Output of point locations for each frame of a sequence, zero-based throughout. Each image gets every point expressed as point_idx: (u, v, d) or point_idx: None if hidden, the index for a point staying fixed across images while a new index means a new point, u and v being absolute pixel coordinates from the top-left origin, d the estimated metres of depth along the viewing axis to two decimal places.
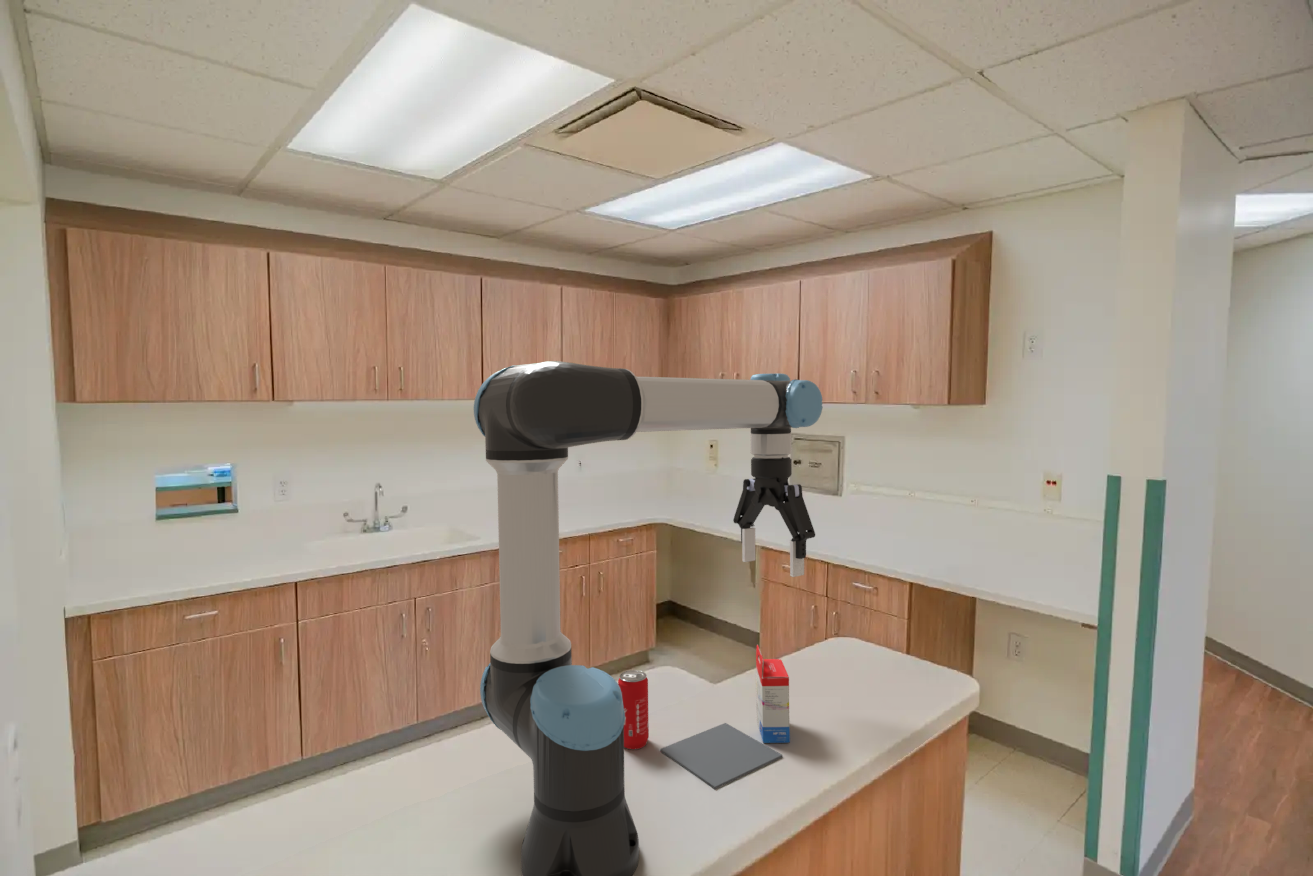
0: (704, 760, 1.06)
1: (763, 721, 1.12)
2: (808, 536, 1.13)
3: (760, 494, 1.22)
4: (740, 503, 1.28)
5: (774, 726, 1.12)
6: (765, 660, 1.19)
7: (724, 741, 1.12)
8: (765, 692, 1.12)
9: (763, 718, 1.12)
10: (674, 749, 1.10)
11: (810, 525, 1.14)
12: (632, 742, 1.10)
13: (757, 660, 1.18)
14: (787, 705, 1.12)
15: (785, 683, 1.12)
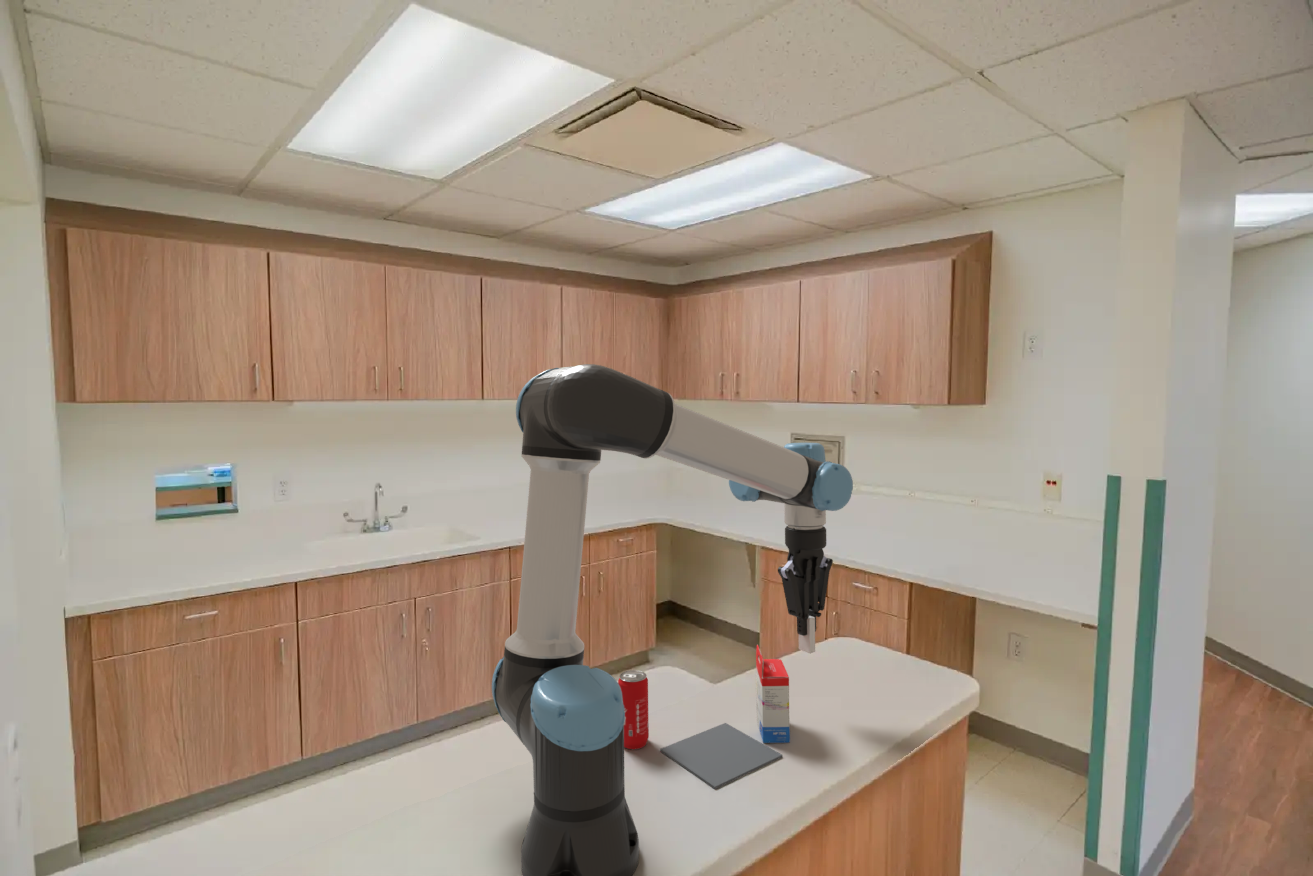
0: (704, 760, 1.06)
1: (763, 721, 1.12)
2: (791, 613, 1.19)
3: None
4: None
5: (774, 726, 1.12)
6: (765, 660, 1.19)
7: (724, 741, 1.12)
8: (765, 692, 1.12)
9: (763, 718, 1.12)
10: (674, 749, 1.10)
11: (794, 608, 1.18)
12: (632, 742, 1.10)
13: (757, 660, 1.18)
14: (787, 705, 1.12)
15: (785, 683, 1.12)
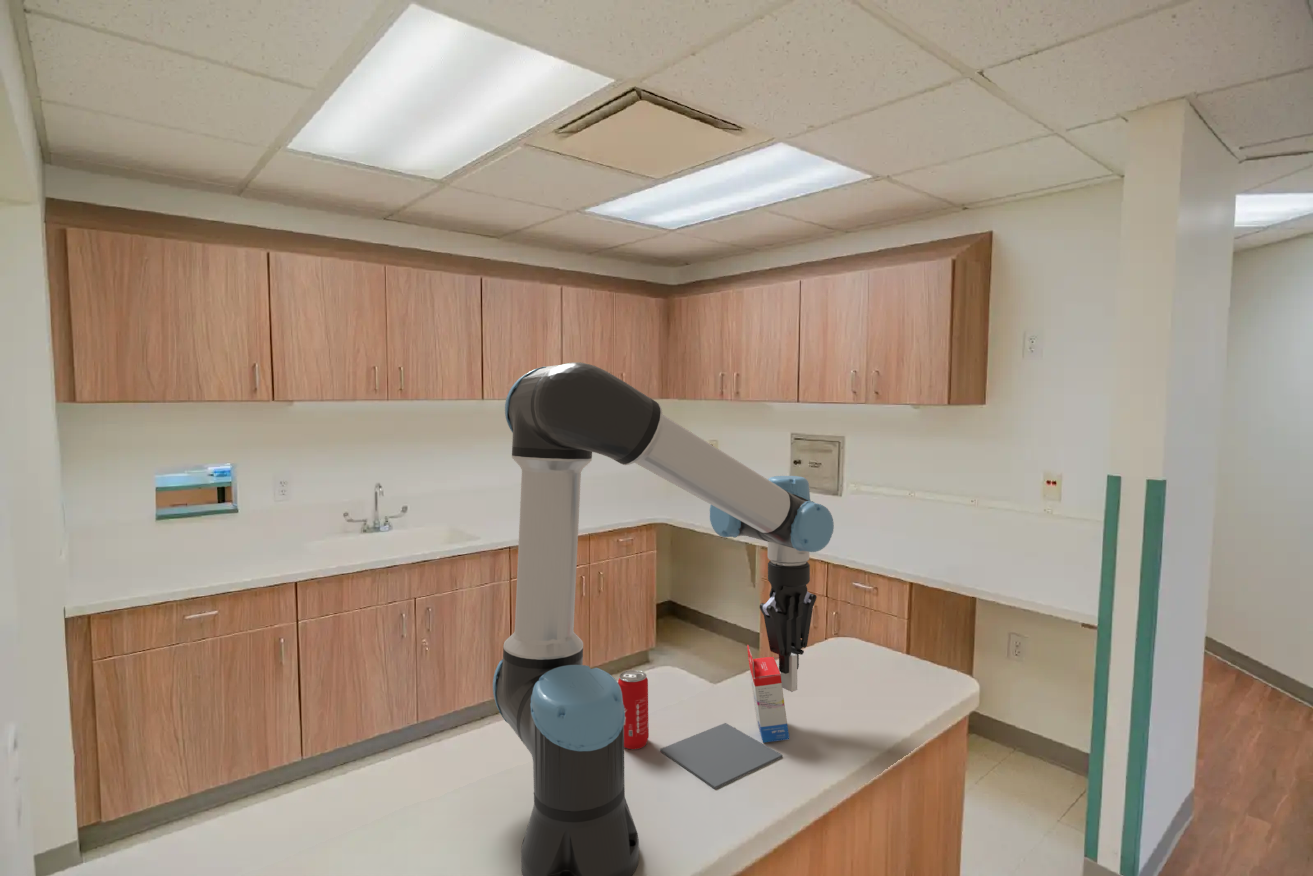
0: (704, 760, 1.06)
1: (760, 721, 1.12)
2: (773, 651, 1.17)
3: None
4: None
5: (771, 725, 1.12)
6: (757, 659, 1.19)
7: (724, 741, 1.12)
8: (758, 692, 1.12)
9: (760, 718, 1.12)
10: (674, 749, 1.10)
11: (776, 645, 1.15)
12: (632, 742, 1.10)
13: (749, 660, 1.18)
14: (782, 702, 1.12)
15: (777, 680, 1.12)
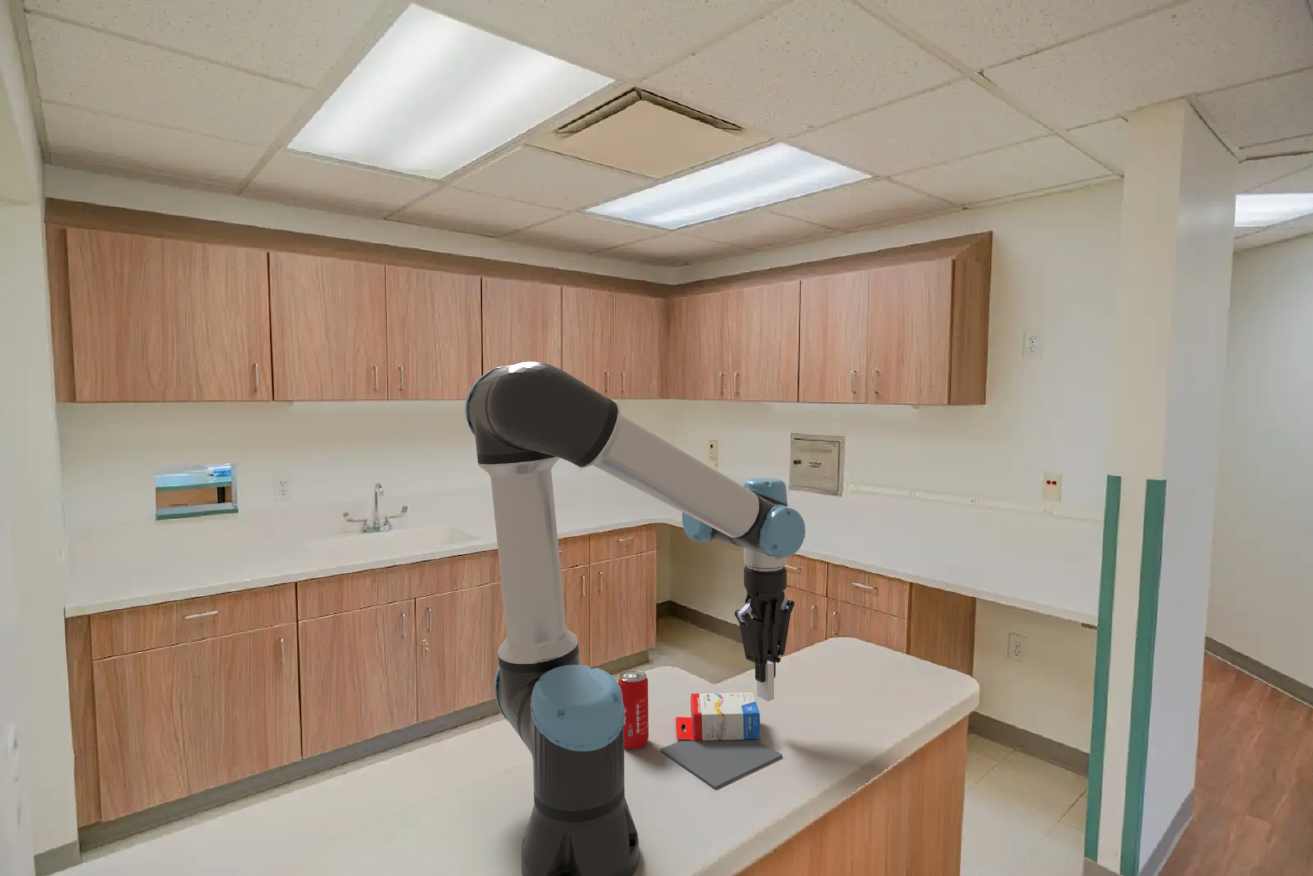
0: (704, 760, 1.06)
1: (738, 738, 1.13)
2: (749, 659, 1.13)
3: None
4: None
5: (742, 729, 1.12)
6: None
7: (724, 741, 1.12)
8: (708, 738, 1.13)
9: (735, 739, 1.13)
10: (674, 749, 1.10)
11: (752, 653, 1.12)
12: (632, 742, 1.10)
13: None
14: (721, 716, 1.12)
15: (699, 718, 1.12)
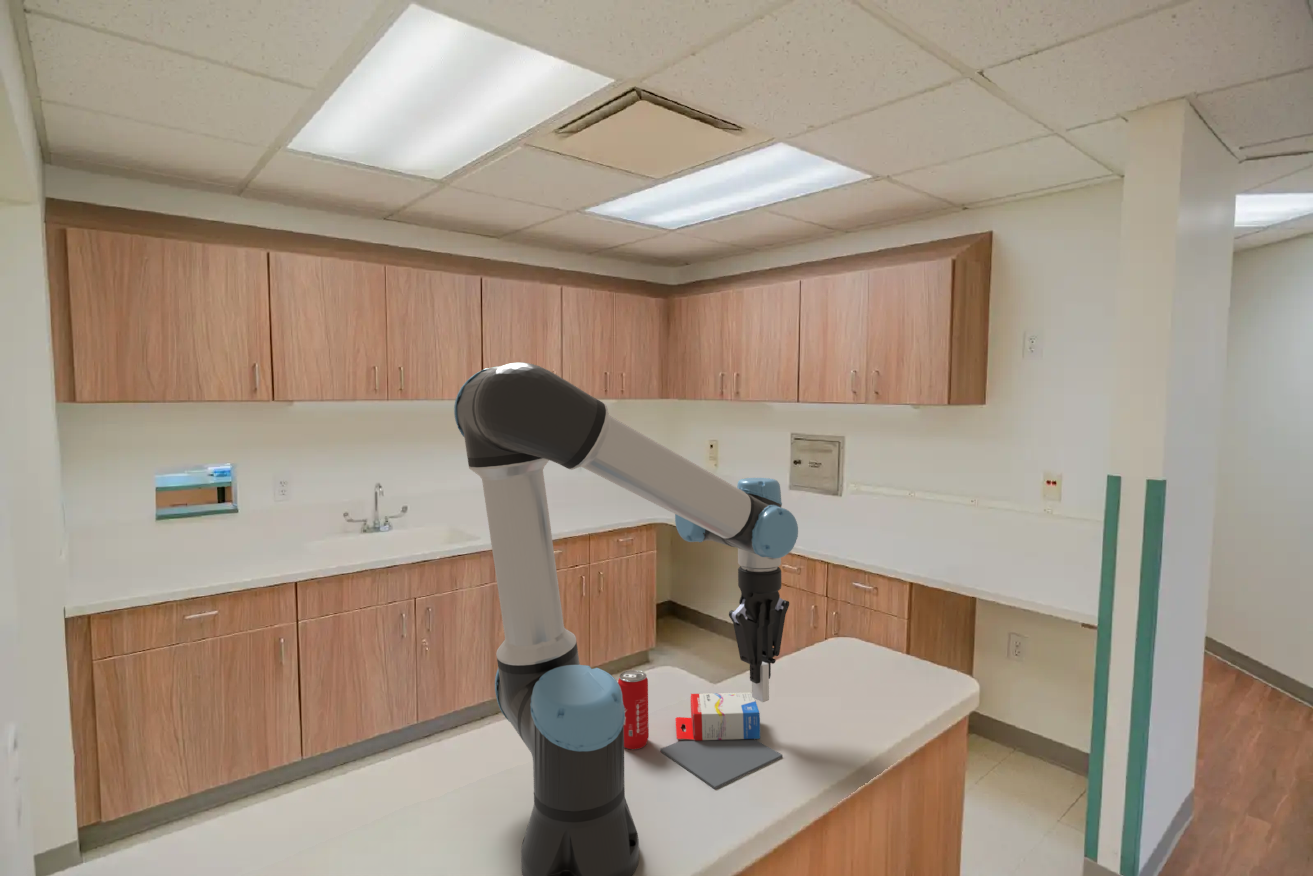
0: (704, 760, 1.06)
1: (738, 738, 1.13)
2: (743, 660, 1.12)
3: None
4: None
5: (742, 728, 1.12)
6: None
7: (724, 741, 1.12)
8: (708, 737, 1.13)
9: (735, 738, 1.13)
10: (674, 749, 1.10)
11: (746, 654, 1.11)
12: (632, 742, 1.10)
13: None
14: (721, 715, 1.12)
15: (699, 717, 1.12)
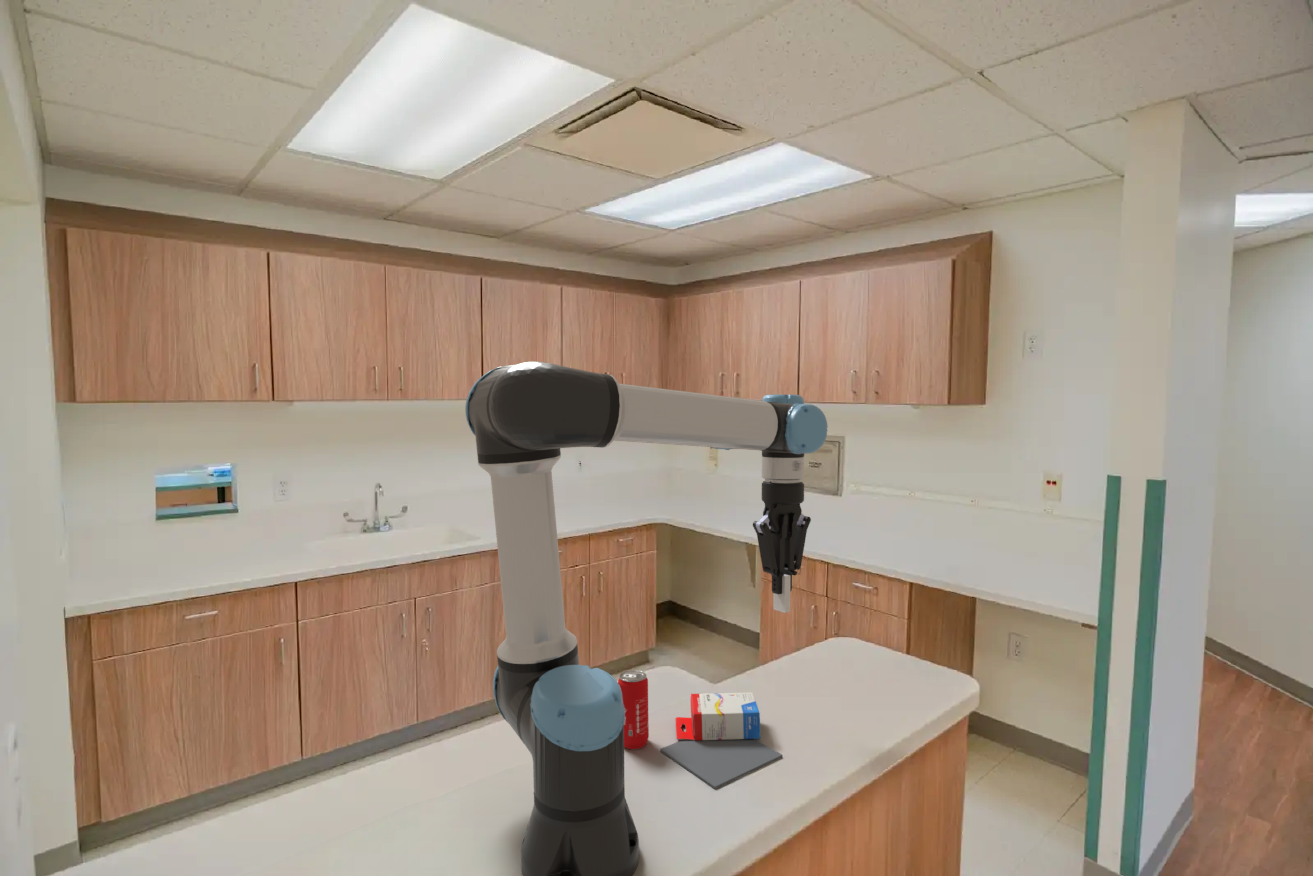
0: (704, 760, 1.06)
1: (738, 738, 1.13)
2: (766, 570, 1.15)
3: None
4: None
5: (742, 728, 1.12)
6: None
7: (724, 741, 1.12)
8: (708, 737, 1.13)
9: (735, 738, 1.13)
10: (674, 749, 1.10)
11: (769, 564, 1.14)
12: (632, 742, 1.10)
13: None
14: (721, 715, 1.12)
15: (699, 717, 1.12)
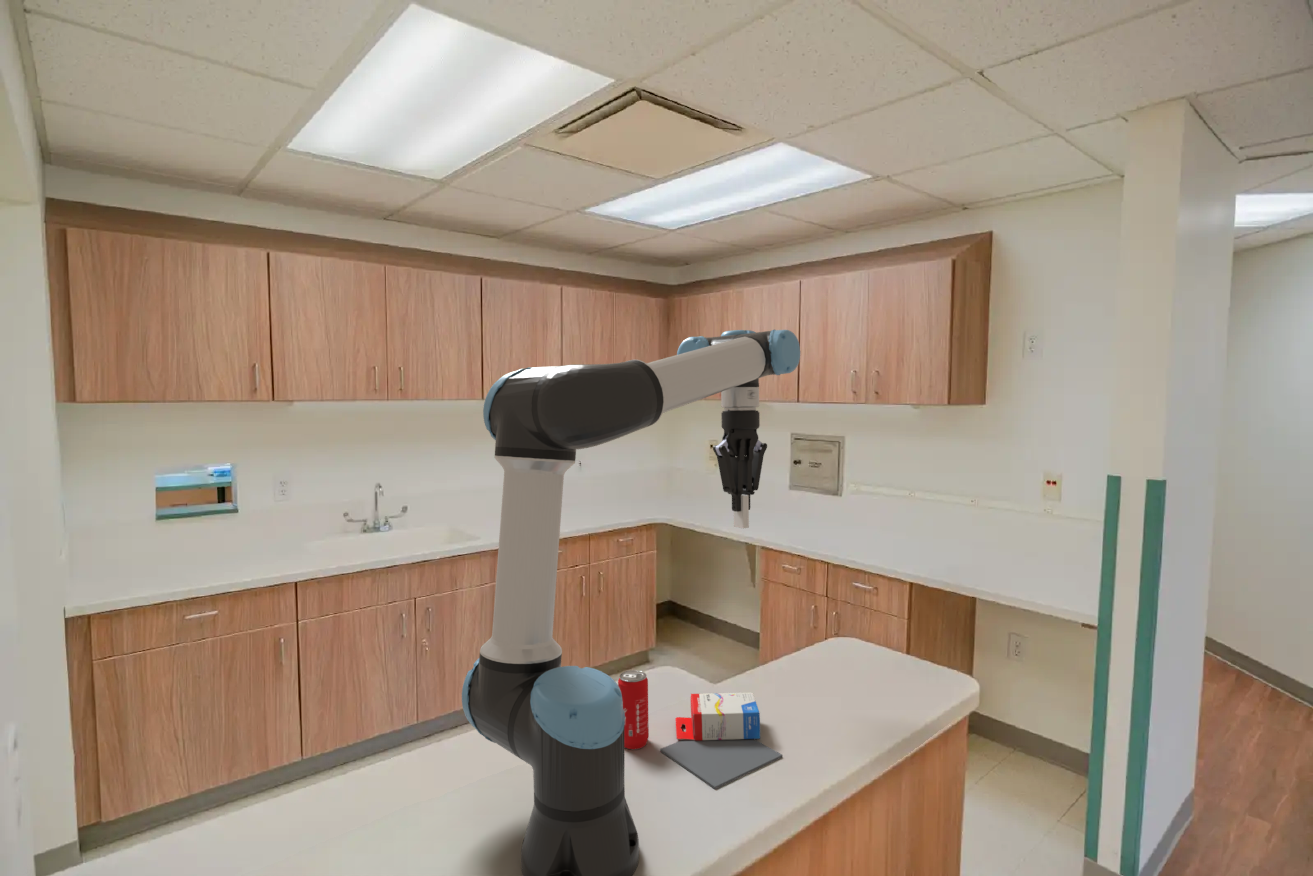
0: (704, 760, 1.06)
1: (738, 738, 1.13)
2: (726, 490, 1.27)
3: None
4: None
5: (742, 728, 1.12)
6: None
7: (724, 741, 1.12)
8: (708, 737, 1.13)
9: (735, 738, 1.13)
10: (674, 749, 1.10)
11: (728, 483, 1.26)
12: (632, 742, 1.10)
13: None
14: (721, 715, 1.12)
15: (699, 717, 1.12)
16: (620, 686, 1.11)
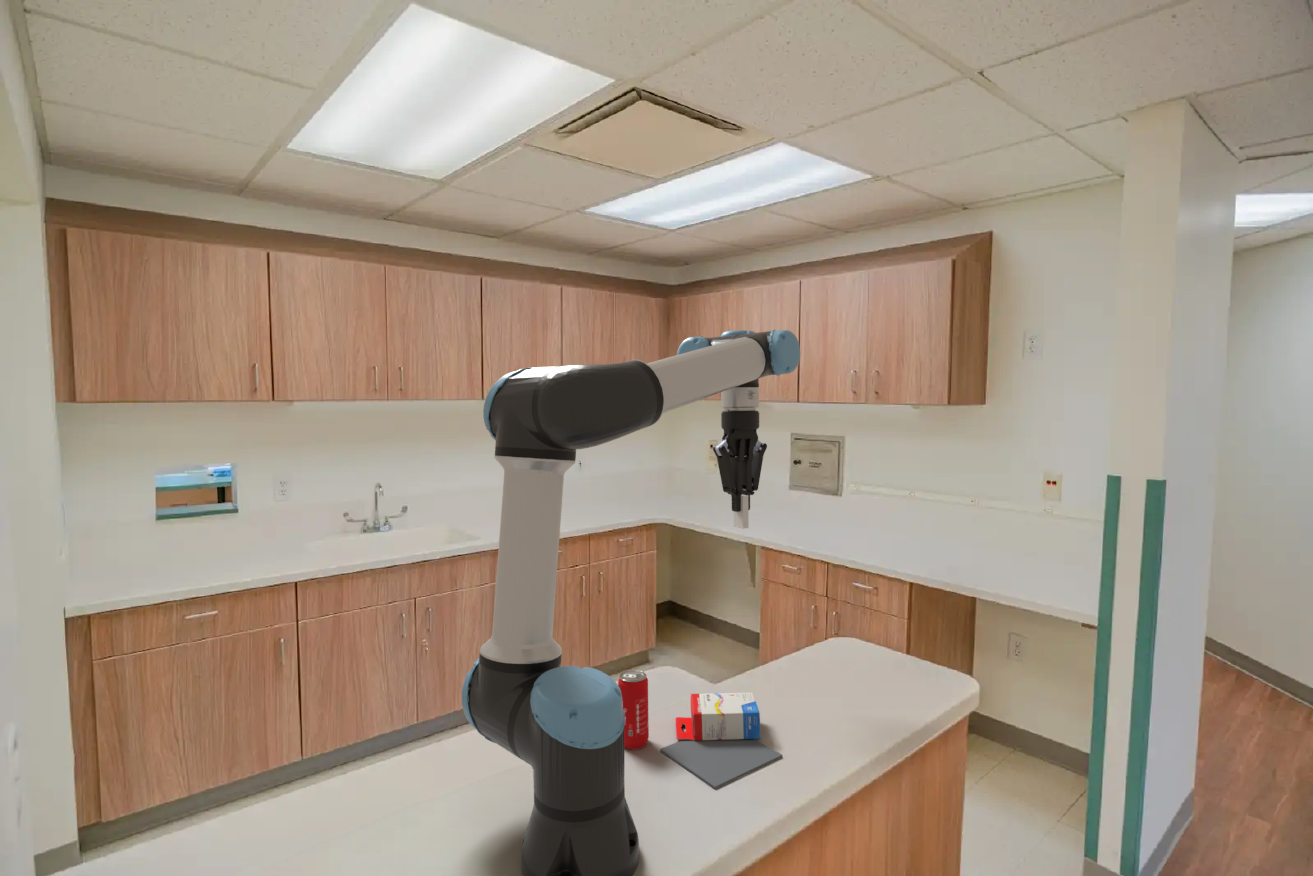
0: (704, 760, 1.06)
1: (738, 738, 1.13)
2: (726, 490, 1.28)
3: None
4: None
5: (742, 728, 1.12)
6: None
7: (724, 741, 1.12)
8: (708, 737, 1.13)
9: (735, 738, 1.13)
10: (674, 749, 1.10)
11: (728, 484, 1.26)
12: (632, 742, 1.10)
13: None
14: (721, 715, 1.12)
15: (699, 717, 1.12)
16: (620, 686, 1.11)
